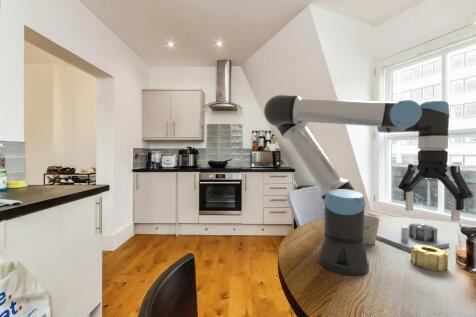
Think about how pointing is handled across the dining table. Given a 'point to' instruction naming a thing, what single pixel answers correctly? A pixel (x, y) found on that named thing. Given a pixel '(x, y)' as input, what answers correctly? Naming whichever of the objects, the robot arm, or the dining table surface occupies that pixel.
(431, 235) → the gear
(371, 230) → the mug
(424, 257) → the gear
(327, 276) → the dining table surface
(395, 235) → the gear board
